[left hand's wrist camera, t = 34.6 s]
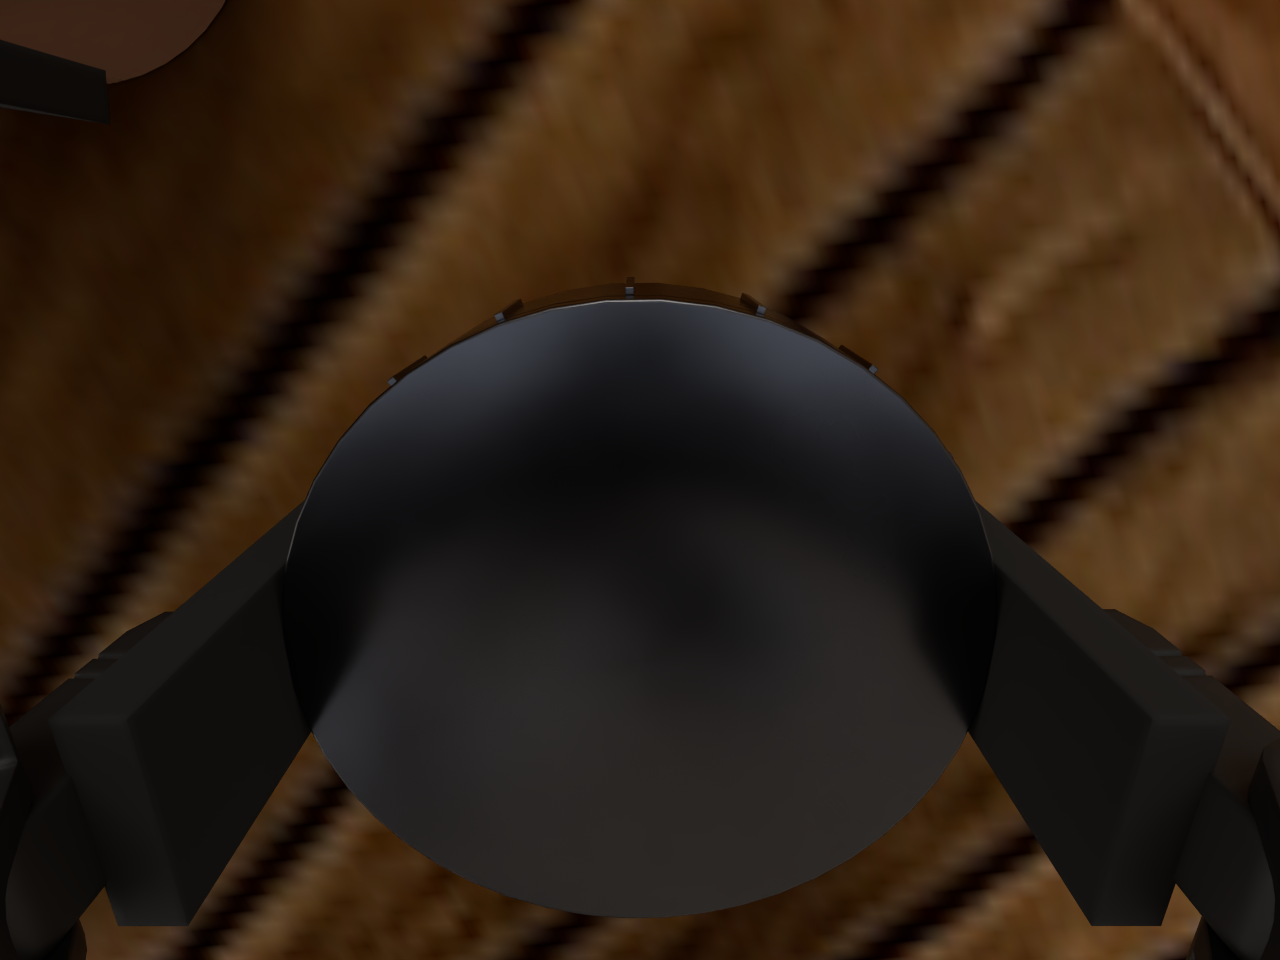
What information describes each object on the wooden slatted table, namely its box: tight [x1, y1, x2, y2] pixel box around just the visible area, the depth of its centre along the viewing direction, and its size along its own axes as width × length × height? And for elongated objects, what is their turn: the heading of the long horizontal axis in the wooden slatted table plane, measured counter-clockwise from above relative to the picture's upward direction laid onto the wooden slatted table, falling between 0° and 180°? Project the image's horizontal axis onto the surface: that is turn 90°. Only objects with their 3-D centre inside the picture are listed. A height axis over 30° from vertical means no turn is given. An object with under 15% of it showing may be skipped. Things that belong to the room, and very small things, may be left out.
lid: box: [282, 277, 997, 918], centre depth 11 cm, size 10×10×2 cm
